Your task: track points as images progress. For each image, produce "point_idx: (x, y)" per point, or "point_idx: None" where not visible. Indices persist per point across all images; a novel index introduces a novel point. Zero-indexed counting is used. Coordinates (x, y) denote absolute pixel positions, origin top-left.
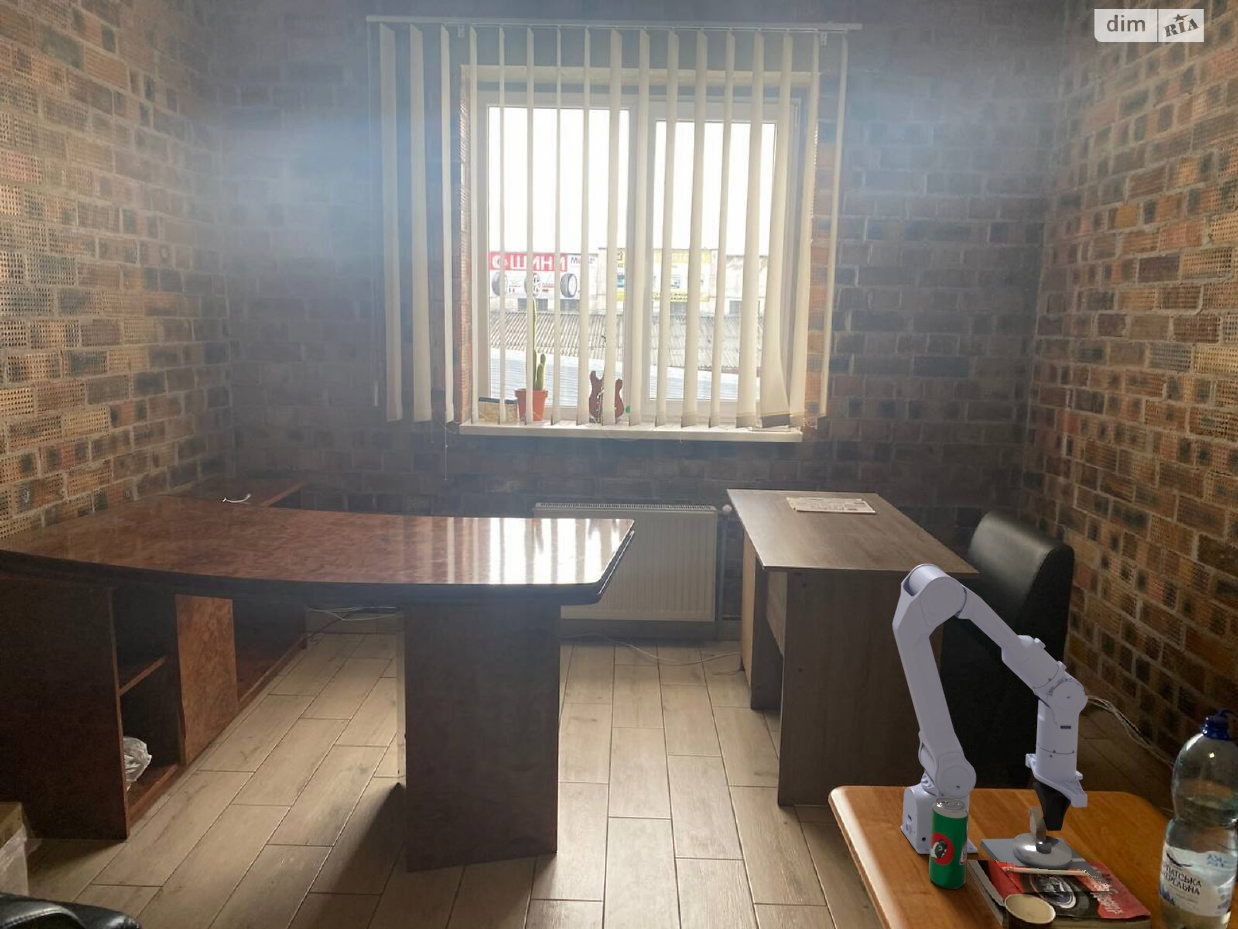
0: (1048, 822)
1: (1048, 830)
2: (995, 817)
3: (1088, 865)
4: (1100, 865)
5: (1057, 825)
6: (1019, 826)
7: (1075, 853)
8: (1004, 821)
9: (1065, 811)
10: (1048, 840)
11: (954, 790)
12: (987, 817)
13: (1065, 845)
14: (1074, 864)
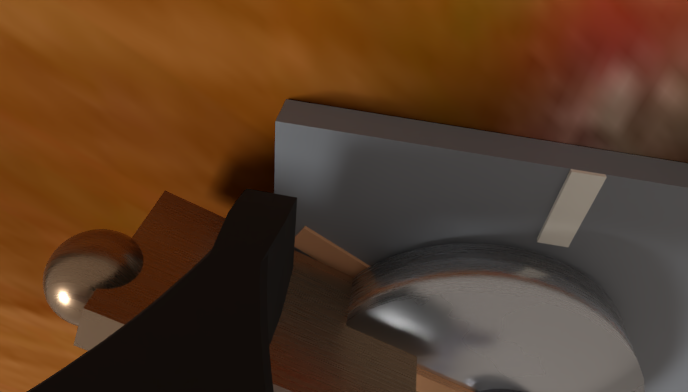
0: (274, 322)
1: (291, 272)
2: (11, 237)
3: (656, 194)
4: (620, 17)
5: (284, 251)
6: (86, 189)
7: (492, 170)
8: (44, 224)
9: (265, 333)
10: (416, 344)
11: None
12: (22, 266)
13: (506, 305)
14: (596, 255)
